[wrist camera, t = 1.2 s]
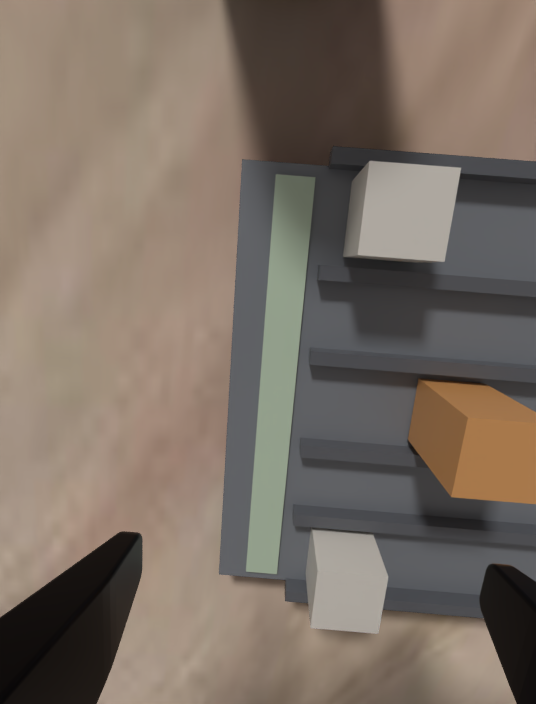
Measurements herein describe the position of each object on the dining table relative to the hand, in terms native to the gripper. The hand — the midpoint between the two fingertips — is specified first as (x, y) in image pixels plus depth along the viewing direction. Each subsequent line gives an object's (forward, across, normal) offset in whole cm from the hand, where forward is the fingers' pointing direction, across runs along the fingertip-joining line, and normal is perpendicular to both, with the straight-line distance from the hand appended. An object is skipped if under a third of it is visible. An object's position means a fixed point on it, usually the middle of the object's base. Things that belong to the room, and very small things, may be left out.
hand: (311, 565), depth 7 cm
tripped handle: (+10, -7, 0) cm, 12 cm away
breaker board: (+12, -7, 0) cm, 14 cm away
